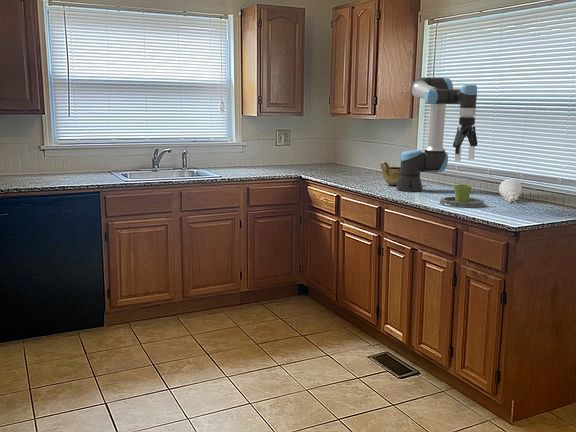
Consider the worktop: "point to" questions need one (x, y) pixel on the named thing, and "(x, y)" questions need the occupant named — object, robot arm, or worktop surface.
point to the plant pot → (462, 193)
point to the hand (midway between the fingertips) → (464, 160)
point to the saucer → (471, 203)
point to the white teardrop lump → (510, 190)
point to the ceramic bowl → (390, 173)
